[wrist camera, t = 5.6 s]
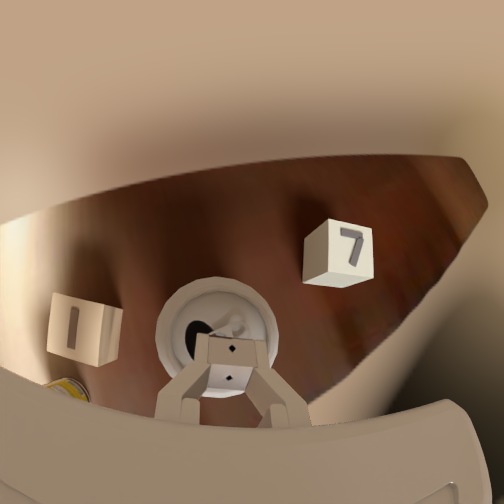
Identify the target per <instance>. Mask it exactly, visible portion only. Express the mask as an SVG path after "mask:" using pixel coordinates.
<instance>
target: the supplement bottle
mask: <svg viewBox="0 0 504 504" xmlns="http://www.w3.org/2000/svg"><path fill="white" fill-rule="evenodd" d="M42 386H44V387H47V388H49V389H52V390H54V391H57V392H60V393H62V394H65V395H68V396H71V397H74V398H77V399H80V400H83V401H86V402H89V403H91V401H90V397H89V395H88V393H87V391H86V389H85V388H84V387H83V386H82V385H81V384H80V383H79V382H78V381H76V380H74V379H71V378H61V379H58V380H55V381H53V382H50V383H47V384H44V385H42Z"/></svg>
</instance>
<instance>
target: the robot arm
mask: <svg viewBox="0 0 504 504" xmlns="http://www.w3.org/2000/svg"><path fill="white" fill-rule="evenodd" d="M207 388H217V389H230V390H240V391H245V393H246V394H247V396H248V397H249V398H250V400H251V401H252V403H253V404H254V405H255V407H256V408H257V410H258V411H259V412H260V414H261V415H262V416H263V418H262V420H261V422H260V423H259V425H258V426H257V428H236V427H218V426H206V425H199V411H200V402H199V401H198V399H199V398H200V397H201V396H202V394H203V393H204V392H205V391H206V389H207ZM491 493H492V492H491V485H490V479H489V475H488V470H487V466H486V462H485V459H484V455H483V452H482V449H481V446H480V443H479V440H478V437H477V435H476V432H475V430H474V427H473V425H472V423H471V420H470V418H469V417H468V415H467V413H466V412H465V411H464V410H463V409H462V408H461V407H459V406H458V405H457V404H455V403H454V402H452V401H451V400H448V399H445V400H441V401H438V402H435V403H431V404H428V405H425V406H421V407H418V408H414V409H411V410H407V411H402V412H398V413H394V414H390V415H385V416H380V417H375V418H370V419H364V420H359V421H352V422H345V423H338V424H329V425H319V426H312V425H311V420H310V416H309V412H308V407H307V403H306V402H305V401H304V400H303V399H302V398H301V397H300V396H299V395H298V394H297V393H296V392H295V391H294V390H293V389H292V388H291V387H290V386H289V385H288V384H287V383H286V382H285V381H284V379H283V378H282V377H281V376H280V375H279V374H278V373H277V372H276V371H275V370H274V369H270V364H269V358H268V352H267V346H266V341H265V340H256V339H254V340H253V339H245V338H234V337H224V336H217V335H211V334H203V333H197V337H196V346H195V354H194V362H192V361H191V362H190V363H189V364H188V365H187V366H186V367H185V368H183V369H182V370H181V371H180V372H179V373H178V374H177V375H176V376H175V377H174V378H173V379H172V380H171V381H170V382H169V383H168V384H167V385H166V386H165V387H164V388H163V389H162V390H161V391H160V392H159V393H158V398H157V404H156V411H155V417H154V418H149V417H144V416H139V415H135V414H130V413H126V412H122V411H118V410H114V409H110V408H106V407H103V406H99V405H96V404H92V403H89V402H86V401H83V400H80V399H77V398H74V397H71V396H68V395H65V394H62V393H60V392H57V391H54V390H52V389H49V388H47V387H44V386H42V385H40V384H37V383H35V382H33V381H31V380H28V379H26V378H24V377H22V376H20V375H18V374H16V373H14V372H12V371H10V370H8V369H6V368H4V367H2V366H0V504H492V494H491Z"/></svg>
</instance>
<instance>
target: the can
mask: <svg viewBox="0 0 504 504" xmlns="http://www.w3.org/2000/svg"><path fill="white" fill-rule="evenodd" d="M197 333H203V334H211V335H217V336H224V337H234V338H245V339H253V340H254V339H256V340H265V341H266V346H267V352H268V358H269V364H270V368H271V366H272V364H273V361H274V359H275V357H276V354H277V349H278V338H279V333H278V329H277V324H276V320H275V316H274V314H273V312H272V311H271V309H270V307H269V305H268V304H267V302H266V300H265V299H264V298H262V297H261V296H260V295H259V294H258V293H257V292H256V291H255V290H254V289H253V288H252V287H250V286H248V285H245V284H243V283H241V282H239V281H237V280H235V279H229V278H222V277H210V278H203V279H197V280H195V281H193V282H191V283H189V284H187V285H185V286H183V287H181V288H179V289H178V290H177V291H176V292H175V293H174V294H173V295H172V297H171V298H170V299H169V300H168V301H167V302H166V303H165V305H164V307H163V309H162V311H161V313H160V316H159V318H158V320H157V328H156V337H155V340H156V345H157V350H158V354H159V359H160V360H161V362H162V364H163V365H164V367H165V369H166V370H167V372H168V374H169V375H170V376H171V377H172V378H174V377H175V376H176V375H177V374H178V373H179V372H180V371H181V370H182V369H183V368H185V367H186V366H187V365H188V364H189V363H190V362H191V361H192V362H194V354H195V346H196V337H197ZM243 392H245V391H240V390H230V389H217V388H207V389H206V391H205V392H204V393H203V394H202V396H206V397H217V398H224V397H229V396H233V395H238V394H241V393H243Z"/></svg>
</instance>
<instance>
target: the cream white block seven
mask: <svg viewBox="0 0 504 504" xmlns="http://www.w3.org/2000/svg"><path fill="white" fill-rule="evenodd" d="M372 278H373V246H372V229H370V228H366V227H362V226H358V225H354V224H349V223H345V222H341V221H336V220H332V219H328V220H326V221H325V222H324V223H323V224H322V225H320V226H319V227H318V228H317V229H315V230H314V231H313V232H312V233H311V234H309V235H308V236H307V237H306V238H304V259H303V279H302V283H307V284H315V285H323V286H332V287H340V288H343V287H347V286H350V285H353V284H356V283H359V282H362V281H365V280H369V279H372Z"/></svg>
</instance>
